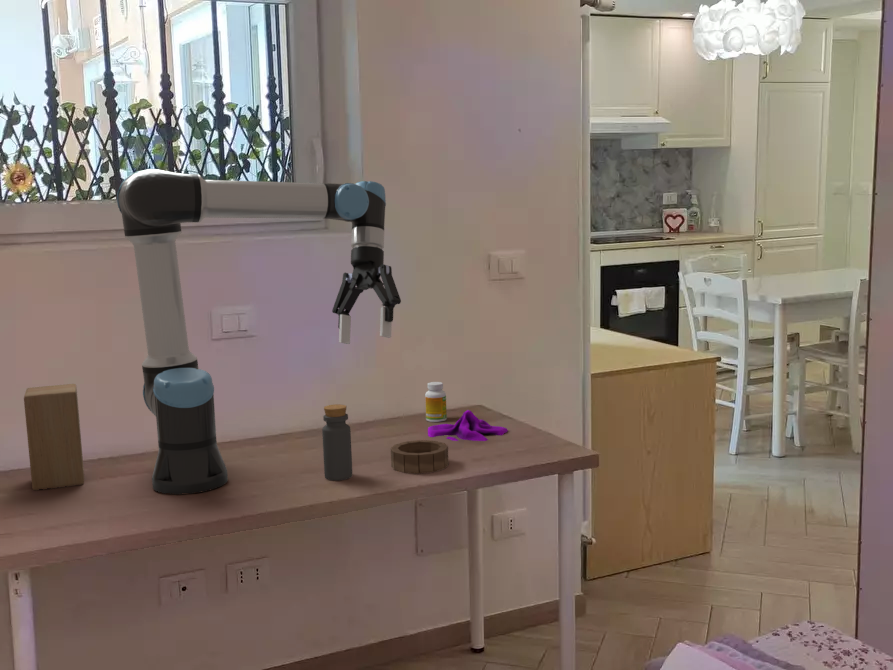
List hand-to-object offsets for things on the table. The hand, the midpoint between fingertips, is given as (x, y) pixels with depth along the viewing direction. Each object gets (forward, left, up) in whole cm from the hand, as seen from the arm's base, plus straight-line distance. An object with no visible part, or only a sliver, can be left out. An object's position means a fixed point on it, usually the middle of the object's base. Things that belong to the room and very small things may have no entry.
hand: (364, 340), depth 218 cm
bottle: (-10, -18, -26) cm, 33 cm away
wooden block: (-67, 0, -26) cm, 72 cm away
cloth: (+26, +7, -27) cm, 38 cm away
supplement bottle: (+22, +24, -26) cm, 42 cm away
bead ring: (+8, -16, -26) cm, 31 cm away
